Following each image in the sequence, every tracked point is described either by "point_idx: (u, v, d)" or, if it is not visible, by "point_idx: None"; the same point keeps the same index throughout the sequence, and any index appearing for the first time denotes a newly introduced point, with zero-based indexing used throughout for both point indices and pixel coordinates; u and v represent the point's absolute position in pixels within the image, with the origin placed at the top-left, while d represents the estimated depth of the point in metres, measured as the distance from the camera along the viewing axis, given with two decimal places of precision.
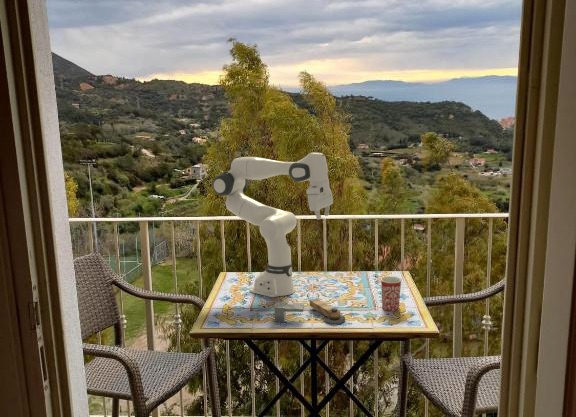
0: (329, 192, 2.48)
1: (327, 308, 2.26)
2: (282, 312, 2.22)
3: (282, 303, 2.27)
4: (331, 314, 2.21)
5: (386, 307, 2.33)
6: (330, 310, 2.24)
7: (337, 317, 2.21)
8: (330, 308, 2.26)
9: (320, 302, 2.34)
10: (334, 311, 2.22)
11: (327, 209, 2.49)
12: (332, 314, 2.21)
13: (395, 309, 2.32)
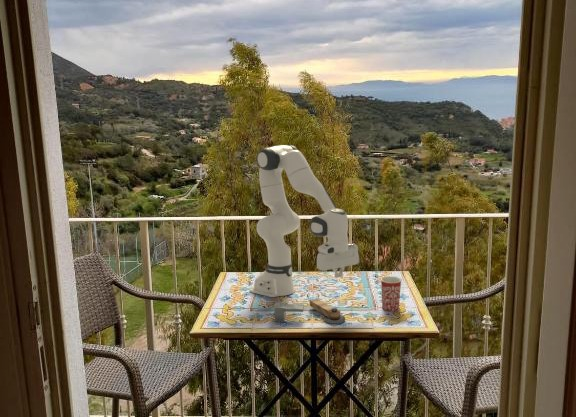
0: (352, 252, 2.32)
1: (327, 308, 2.26)
2: (282, 312, 2.22)
3: (282, 303, 2.27)
4: (331, 314, 2.21)
5: (386, 307, 2.33)
6: (330, 310, 2.24)
7: (337, 317, 2.21)
8: (330, 308, 2.26)
9: (320, 302, 2.34)
10: (334, 311, 2.22)
11: (341, 270, 2.32)
12: (332, 314, 2.21)
13: (395, 309, 2.32)
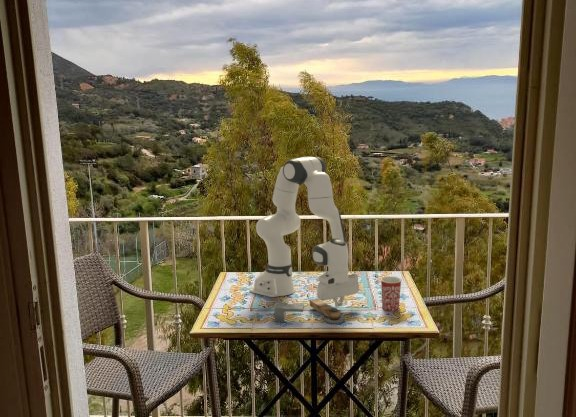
0: (352, 281, 2.34)
1: (327, 308, 2.26)
2: (282, 312, 2.22)
3: (282, 303, 2.27)
4: (331, 314, 2.21)
5: (386, 307, 2.33)
6: (330, 310, 2.24)
7: (337, 317, 2.21)
8: (330, 308, 2.26)
9: (320, 302, 2.34)
10: (334, 311, 2.22)
11: (341, 299, 2.35)
12: (332, 314, 2.21)
13: (395, 309, 2.32)
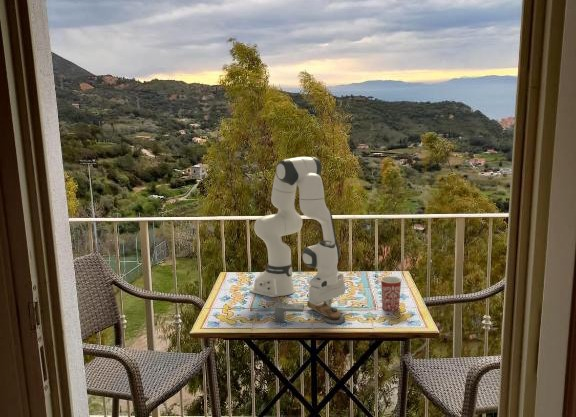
0: (340, 282, 2.34)
1: (327, 308, 2.26)
2: (282, 312, 2.22)
3: (282, 303, 2.27)
4: (331, 314, 2.21)
5: (386, 307, 2.33)
6: (330, 310, 2.24)
7: (337, 317, 2.21)
8: (329, 308, 2.26)
9: None
10: (334, 311, 2.22)
11: (329, 302, 2.33)
12: (332, 314, 2.21)
13: (395, 309, 2.32)
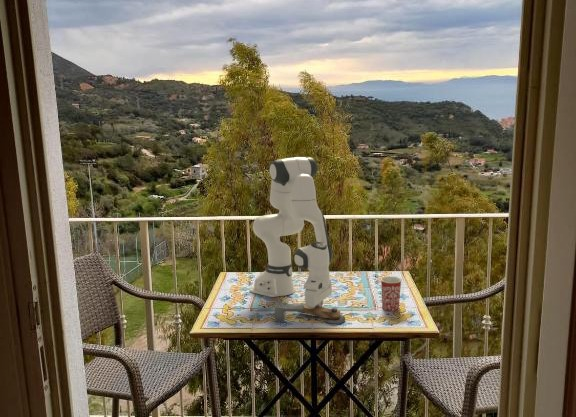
0: (328, 283, 2.34)
1: (325, 310, 2.24)
2: (282, 312, 2.22)
3: (282, 303, 2.27)
4: (334, 314, 2.21)
5: (386, 307, 2.33)
6: (330, 311, 2.23)
7: (339, 316, 2.22)
8: (327, 309, 2.25)
9: None
10: (335, 311, 2.22)
11: None
12: (335, 314, 2.21)
13: (395, 309, 2.32)
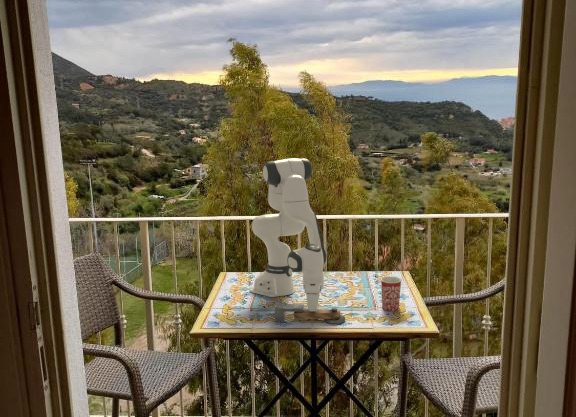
0: None
1: (324, 311, 2.23)
2: (282, 312, 2.22)
3: (282, 303, 2.27)
4: (337, 314, 2.21)
5: (386, 307, 2.33)
6: (330, 312, 2.22)
7: None
8: (325, 310, 2.24)
9: (305, 310, 2.25)
10: (336, 311, 2.22)
11: None
12: (338, 314, 2.21)
13: (395, 309, 2.32)
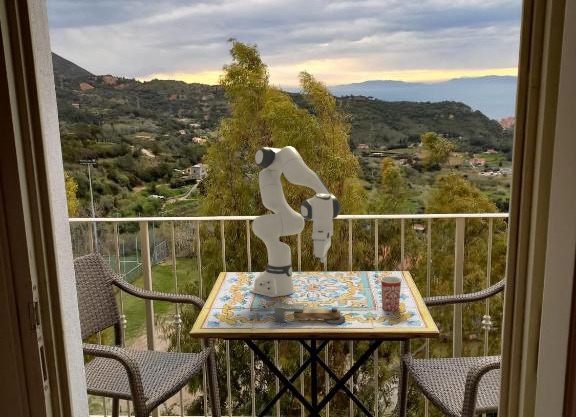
0: None
1: (324, 311, 2.23)
2: (282, 312, 2.22)
3: (282, 303, 2.27)
4: (337, 314, 2.21)
5: (386, 307, 2.33)
6: (330, 312, 2.22)
7: None
8: (325, 310, 2.24)
9: (305, 310, 2.25)
10: (336, 311, 2.22)
11: (324, 254, 2.33)
12: (338, 314, 2.21)
13: (395, 309, 2.32)
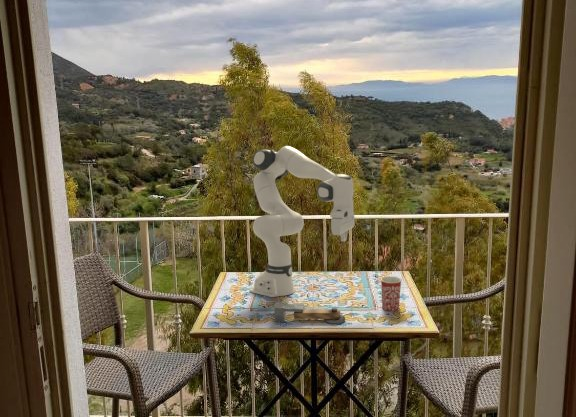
0: (352, 215, 2.43)
1: (324, 311, 2.23)
2: (282, 312, 2.22)
3: (282, 303, 2.27)
4: (337, 314, 2.21)
5: (386, 307, 2.33)
6: (330, 312, 2.22)
7: None
8: (325, 310, 2.24)
9: (305, 310, 2.25)
10: (336, 311, 2.22)
11: (345, 234, 2.40)
12: (338, 314, 2.21)
13: (395, 309, 2.32)
